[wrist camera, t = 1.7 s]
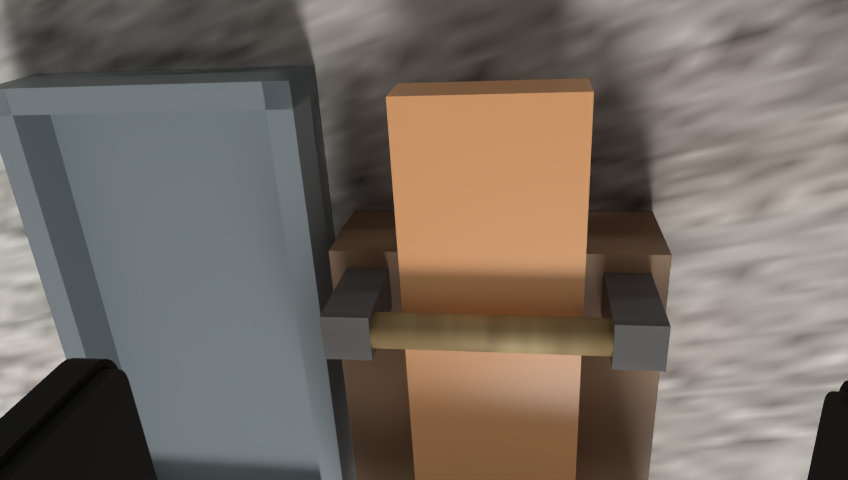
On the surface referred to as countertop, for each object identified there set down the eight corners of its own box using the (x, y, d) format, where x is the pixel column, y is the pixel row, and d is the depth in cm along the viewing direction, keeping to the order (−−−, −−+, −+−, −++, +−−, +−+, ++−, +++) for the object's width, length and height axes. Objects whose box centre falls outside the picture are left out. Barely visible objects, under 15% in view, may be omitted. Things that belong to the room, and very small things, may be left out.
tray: (34, 74, 28) (-20, 89, 25) (314, 65, 26) (288, 80, 23) (150, 483, 37) (119, 527, 34) (365, 498, 35) (351, 546, 32)
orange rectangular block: (397, 83, 22) (385, 96, 20) (588, 78, 21) (594, 91, 19) (424, 468, 28) (417, 505, 26) (571, 477, 27) (573, 515, 25)
